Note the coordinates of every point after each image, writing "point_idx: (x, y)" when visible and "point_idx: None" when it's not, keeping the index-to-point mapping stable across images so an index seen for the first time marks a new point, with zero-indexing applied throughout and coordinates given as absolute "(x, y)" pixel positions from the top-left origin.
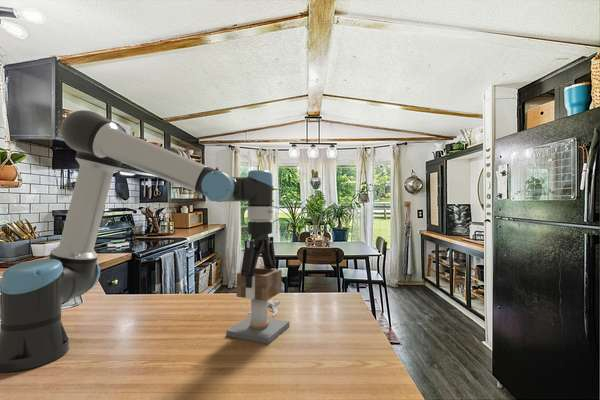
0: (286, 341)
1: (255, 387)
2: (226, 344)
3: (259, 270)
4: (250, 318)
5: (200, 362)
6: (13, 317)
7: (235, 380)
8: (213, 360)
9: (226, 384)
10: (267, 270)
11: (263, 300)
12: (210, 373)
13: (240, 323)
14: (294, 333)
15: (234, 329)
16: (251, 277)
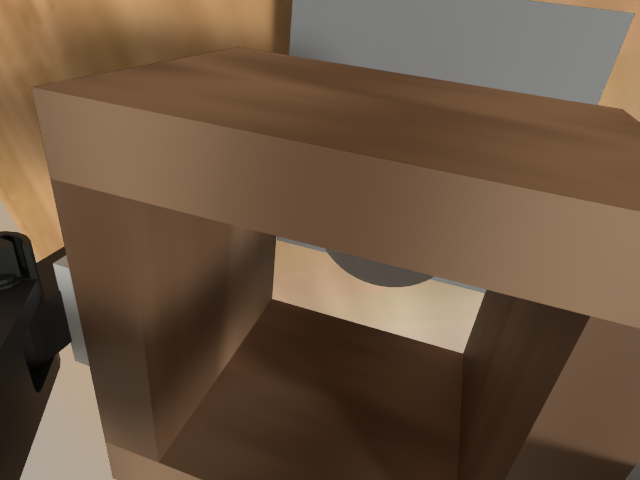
0: (330, 291)
1: (54, 251)
2: (216, 38)
3: (545, 365)
4: (550, 39)
5: (52, 13)
6: None
7: (47, 192)
8: (87, 60)
9: (22, 175)
10: None
11: (341, 265)
12: (29, 98)
13: (431, 8)
14: (421, 314)
15: (323, 19)
16: (70, 329)
